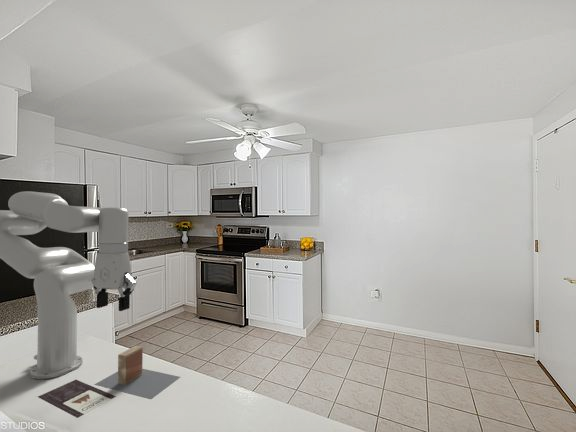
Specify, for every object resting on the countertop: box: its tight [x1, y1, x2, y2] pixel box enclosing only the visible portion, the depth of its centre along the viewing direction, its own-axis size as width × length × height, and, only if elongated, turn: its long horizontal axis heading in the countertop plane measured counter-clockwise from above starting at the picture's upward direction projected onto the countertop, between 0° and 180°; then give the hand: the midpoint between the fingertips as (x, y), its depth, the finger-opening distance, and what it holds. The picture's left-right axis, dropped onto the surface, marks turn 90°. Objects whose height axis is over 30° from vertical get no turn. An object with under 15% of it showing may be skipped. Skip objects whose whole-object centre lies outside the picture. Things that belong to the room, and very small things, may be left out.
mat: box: [94, 368, 181, 400], centre depth 82 cm, size 20×11×1 cm, turn 71°
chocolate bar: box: [37, 379, 117, 418], centre depth 74 cm, size 9×1×18 cm
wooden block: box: [117, 345, 144, 385], centre depth 83 cm, size 3×6×8 cm, turn 161°
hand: (113, 307), depth 85 cm, fingers open, 8 cm apart
